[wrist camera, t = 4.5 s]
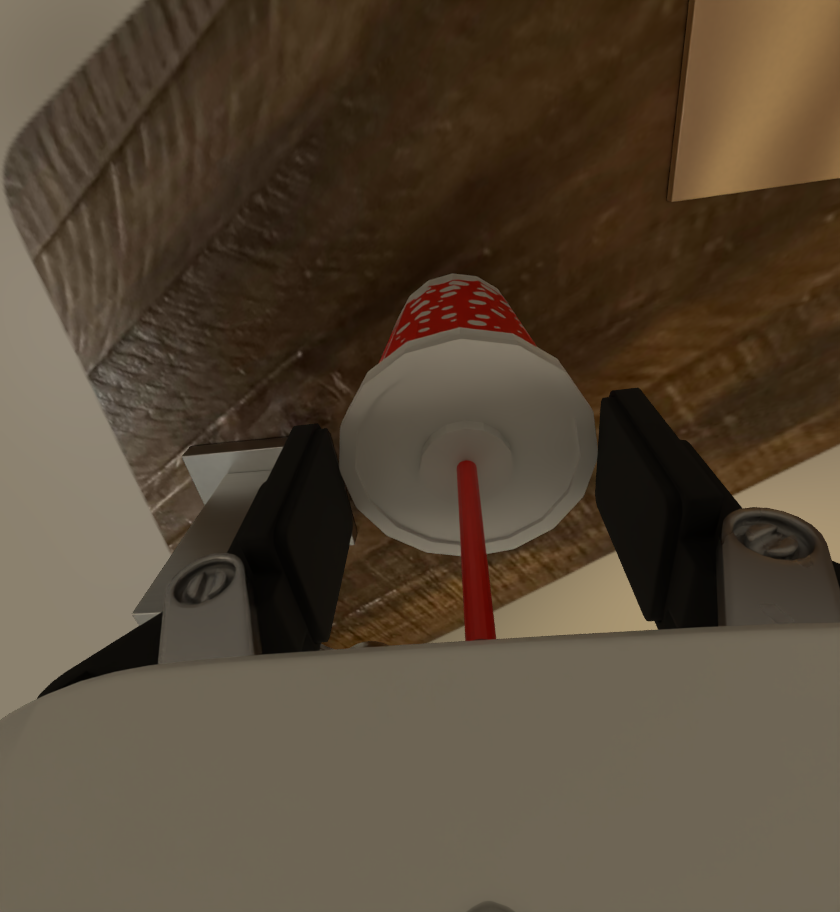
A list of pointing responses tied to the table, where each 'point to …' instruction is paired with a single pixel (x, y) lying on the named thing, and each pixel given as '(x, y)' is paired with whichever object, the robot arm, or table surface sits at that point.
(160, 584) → the faucet base
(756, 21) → the drip mat
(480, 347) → the beverage cup
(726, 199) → the table surface
